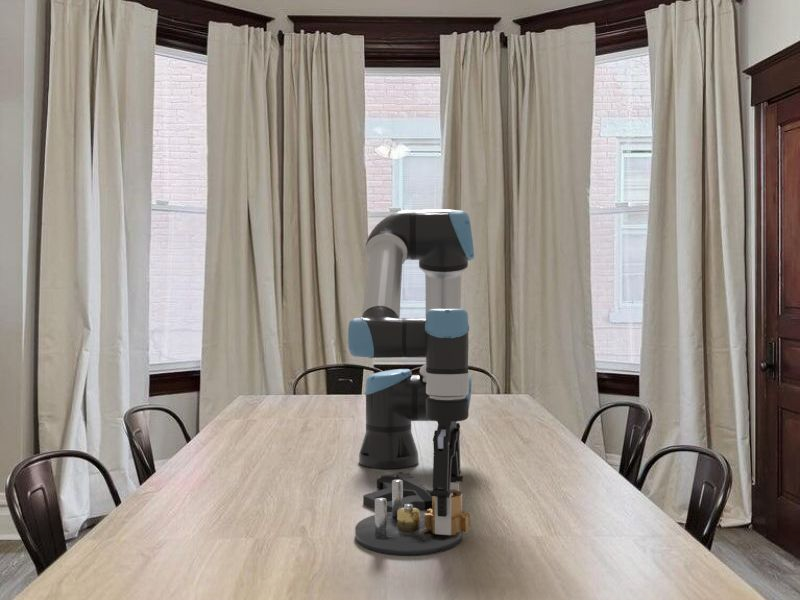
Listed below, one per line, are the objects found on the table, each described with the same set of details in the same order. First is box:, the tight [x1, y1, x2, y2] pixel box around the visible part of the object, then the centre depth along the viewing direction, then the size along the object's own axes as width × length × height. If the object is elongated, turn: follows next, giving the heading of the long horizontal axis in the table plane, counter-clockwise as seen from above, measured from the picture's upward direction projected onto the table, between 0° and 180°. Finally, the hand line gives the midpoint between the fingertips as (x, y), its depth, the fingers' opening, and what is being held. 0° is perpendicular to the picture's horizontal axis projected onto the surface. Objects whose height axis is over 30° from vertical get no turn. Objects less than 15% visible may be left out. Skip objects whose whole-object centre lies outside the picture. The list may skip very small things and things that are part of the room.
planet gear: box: [425, 490, 471, 535], centre depth 124 cm, size 8×8×6 cm
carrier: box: [354, 480, 463, 557], centre depth 126 cm, size 19×19×8 cm
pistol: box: [362, 471, 433, 512], centre depth 151 cm, size 2×26×15 cm
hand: (447, 525), depth 124 cm, fingers closed on planet gear, 8 cm apart
